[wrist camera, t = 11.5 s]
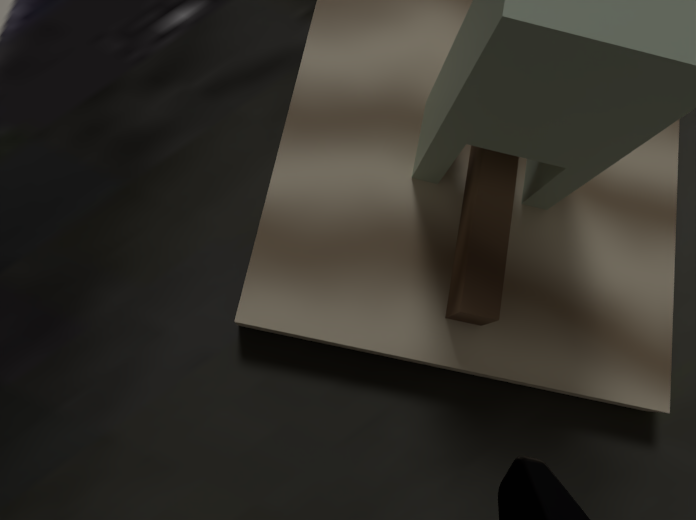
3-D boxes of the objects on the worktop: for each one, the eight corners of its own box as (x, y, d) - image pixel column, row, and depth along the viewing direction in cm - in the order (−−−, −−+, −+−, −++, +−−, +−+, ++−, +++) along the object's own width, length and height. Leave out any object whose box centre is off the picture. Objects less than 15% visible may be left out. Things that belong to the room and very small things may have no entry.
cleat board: (646, 410, 23) (706, 416, 20) (238, 325, 22) (227, 315, 19) (662, 45, 28) (712, -1, 25) (330, -37, 27) (335, -97, 24)
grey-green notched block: (546, 209, 23) (740, 76, 13) (411, 177, 23) (502, 15, 13) (555, 133, 24) (742, -45, 14) (425, 102, 24) (520, -104, 14)
